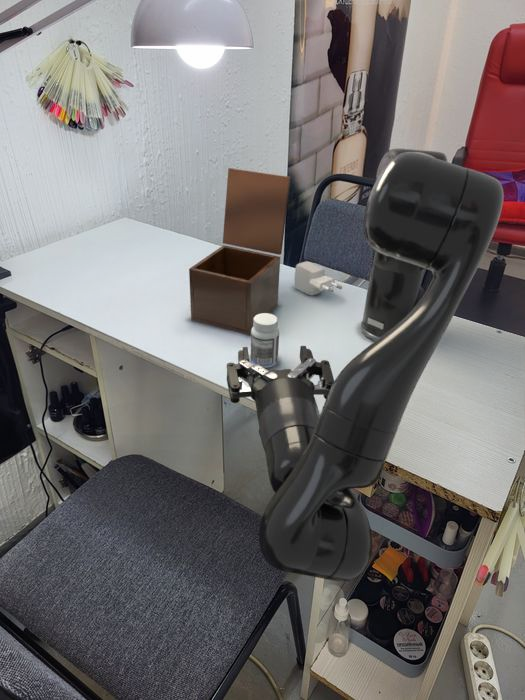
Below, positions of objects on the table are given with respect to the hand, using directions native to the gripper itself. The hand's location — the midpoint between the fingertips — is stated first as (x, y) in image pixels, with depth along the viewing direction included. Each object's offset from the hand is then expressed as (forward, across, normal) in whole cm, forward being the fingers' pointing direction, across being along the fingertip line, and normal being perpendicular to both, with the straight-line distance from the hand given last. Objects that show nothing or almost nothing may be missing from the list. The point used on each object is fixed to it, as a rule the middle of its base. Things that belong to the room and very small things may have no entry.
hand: (273, 351), depth 77 cm
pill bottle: (+11, 0, +9) cm, 14 cm away
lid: (+35, 0, -10) cm, 36 cm away
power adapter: (+36, -14, +9) cm, 40 cm away
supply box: (+28, +4, +9) cm, 30 cm away
